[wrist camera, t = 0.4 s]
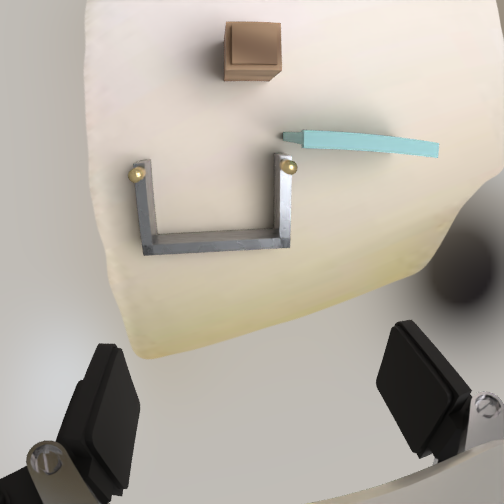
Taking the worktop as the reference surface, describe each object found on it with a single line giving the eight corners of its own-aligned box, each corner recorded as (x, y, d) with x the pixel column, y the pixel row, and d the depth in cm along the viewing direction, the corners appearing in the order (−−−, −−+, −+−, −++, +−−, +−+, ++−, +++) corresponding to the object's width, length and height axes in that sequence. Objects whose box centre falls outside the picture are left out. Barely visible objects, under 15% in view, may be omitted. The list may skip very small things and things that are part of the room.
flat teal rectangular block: (283, 129, 34) (304, 130, 26) (397, 136, 35) (438, 143, 27) (283, 143, 34) (303, 148, 26) (396, 149, 36) (438, 157, 28)
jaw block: (223, 40, 29) (226, 19, 22) (268, 41, 30) (281, 21, 23) (224, 81, 31) (226, 68, 24) (269, 81, 32) (283, 69, 25)
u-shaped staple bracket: (140, 160, 33) (127, 166, 28) (285, 153, 35) (297, 157, 30) (148, 244, 37) (139, 262, 32) (284, 237, 39) (294, 254, 34)
